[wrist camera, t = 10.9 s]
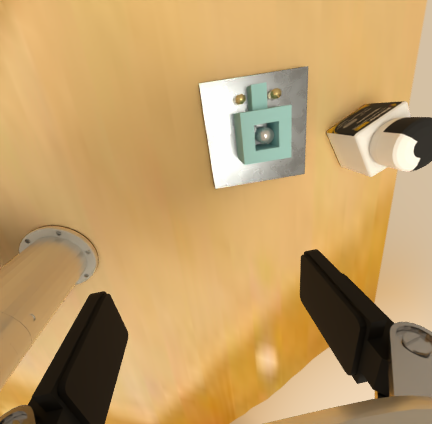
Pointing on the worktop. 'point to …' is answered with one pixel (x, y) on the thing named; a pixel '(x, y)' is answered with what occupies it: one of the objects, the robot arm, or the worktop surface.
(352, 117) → the medicine bottle
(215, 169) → the post base
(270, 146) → the teal hollow square block
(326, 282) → the robot arm
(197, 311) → the worktop surface
